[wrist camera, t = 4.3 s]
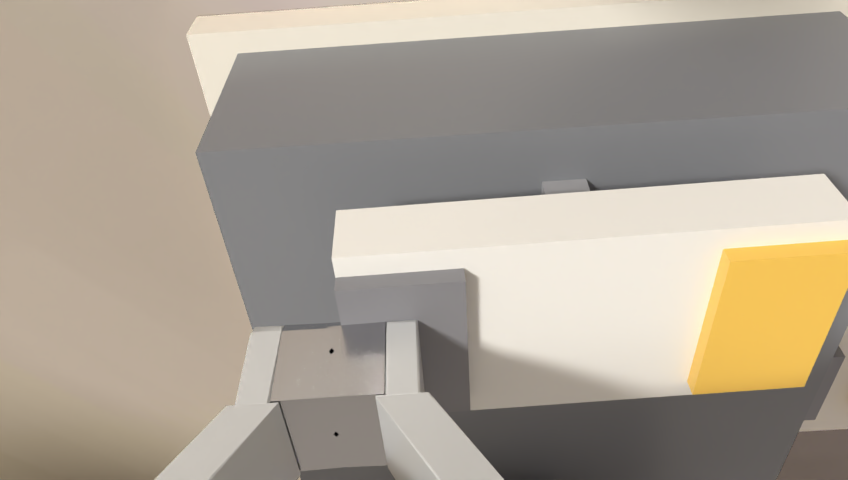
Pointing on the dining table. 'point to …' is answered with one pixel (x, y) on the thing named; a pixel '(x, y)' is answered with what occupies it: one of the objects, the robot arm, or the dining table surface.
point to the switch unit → (526, 172)
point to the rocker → (604, 289)
